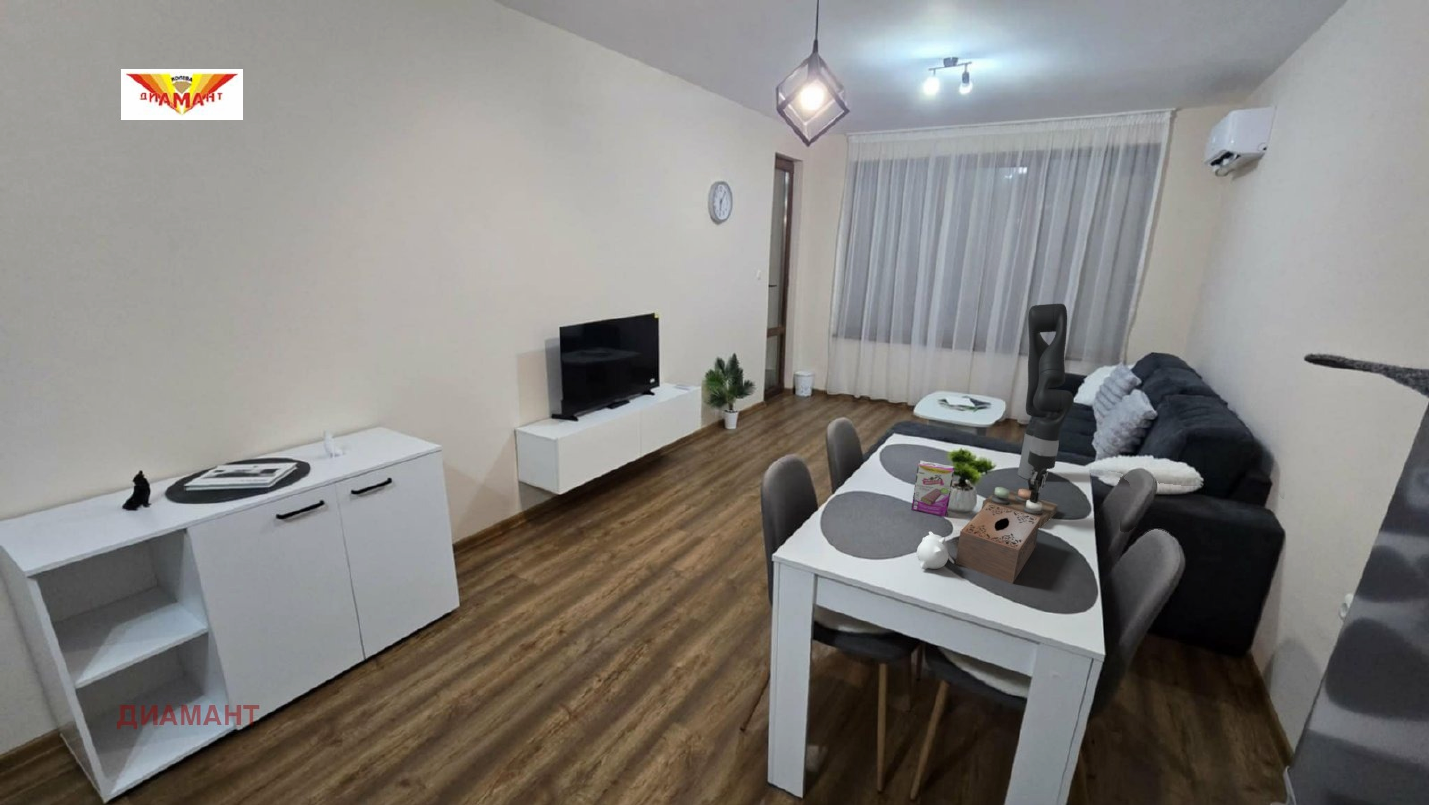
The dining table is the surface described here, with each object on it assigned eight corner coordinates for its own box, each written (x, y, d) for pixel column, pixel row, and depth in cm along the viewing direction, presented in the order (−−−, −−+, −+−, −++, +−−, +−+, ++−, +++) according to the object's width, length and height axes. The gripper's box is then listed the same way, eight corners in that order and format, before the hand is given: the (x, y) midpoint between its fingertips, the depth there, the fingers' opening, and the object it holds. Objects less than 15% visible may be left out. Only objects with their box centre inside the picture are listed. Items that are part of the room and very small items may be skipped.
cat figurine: (933, 522, 157) (930, 539, 147) (965, 548, 155) (964, 567, 144) (912, 542, 161) (908, 560, 150) (943, 568, 159) (940, 588, 148)
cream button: (1028, 504, 184) (1029, 498, 184) (1042, 508, 181) (1044, 503, 181) (1023, 507, 181) (1024, 502, 181) (1038, 512, 178) (1039, 506, 178)
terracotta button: (1020, 493, 193) (1021, 487, 193) (1034, 497, 190) (1035, 491, 190) (1015, 496, 190) (1016, 491, 190) (1029, 500, 187) (1030, 495, 187)
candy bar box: (910, 510, 186) (917, 464, 182) (912, 505, 190) (918, 459, 186) (947, 518, 181) (954, 470, 177) (947, 512, 186) (955, 465, 182)
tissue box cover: (1012, 584, 145) (1018, 550, 143) (955, 564, 154) (960, 531, 152) (1034, 548, 164) (1041, 517, 162) (982, 532, 173) (987, 502, 171)
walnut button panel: (1000, 495, 200) (1002, 485, 199) (1056, 512, 188) (1058, 502, 187) (981, 509, 189) (983, 498, 188) (1040, 528, 176) (1042, 516, 175)
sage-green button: (997, 491, 191) (998, 486, 190) (1010, 495, 188) (1011, 490, 187) (992, 494, 188) (993, 489, 187) (1006, 499, 185) (1007, 493, 184)
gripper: (1037, 443, 184) (1027, 492, 188) (1023, 452, 175) (1014, 503, 179) (1062, 449, 179) (1052, 500, 183) (1050, 459, 169) (1039, 511, 174)
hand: (1033, 501), depth 181 cm, fingers closed
